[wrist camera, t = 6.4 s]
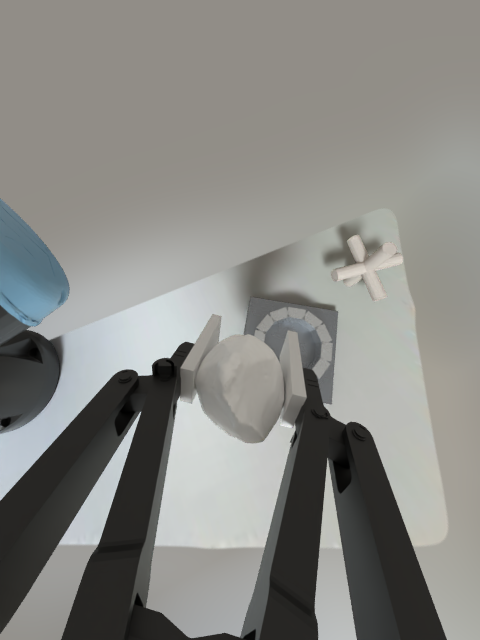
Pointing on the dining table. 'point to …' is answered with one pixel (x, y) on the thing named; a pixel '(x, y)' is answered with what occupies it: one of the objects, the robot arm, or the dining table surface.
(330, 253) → the dining table surface
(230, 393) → the white faceted pointed piece
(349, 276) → the pipe connector
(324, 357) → the collar
